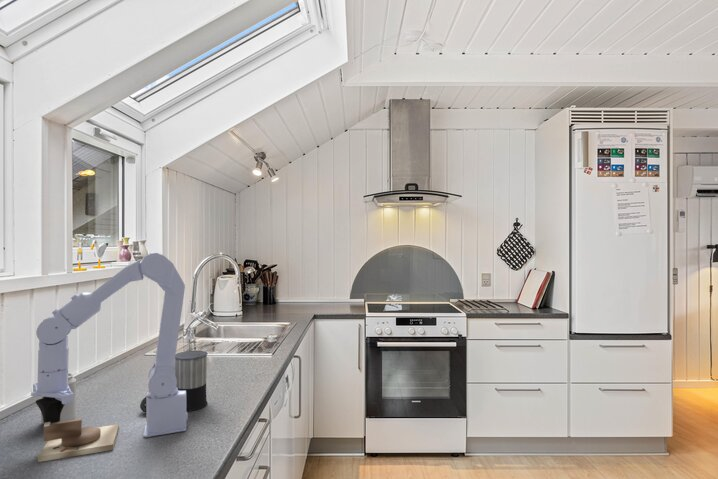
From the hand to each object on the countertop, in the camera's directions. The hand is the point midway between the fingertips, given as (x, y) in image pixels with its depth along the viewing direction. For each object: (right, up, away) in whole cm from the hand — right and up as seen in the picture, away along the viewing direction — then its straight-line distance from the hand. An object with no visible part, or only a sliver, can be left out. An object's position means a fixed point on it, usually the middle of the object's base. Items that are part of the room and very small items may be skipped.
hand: (51, 429), depth 99 cm
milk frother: (+18, -5, +24) cm, 30 cm away
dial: (+4, -3, 0) cm, 5 cm away
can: (-8, -5, +15) cm, 18 cm away
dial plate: (+6, -4, +2) cm, 7 cm away
